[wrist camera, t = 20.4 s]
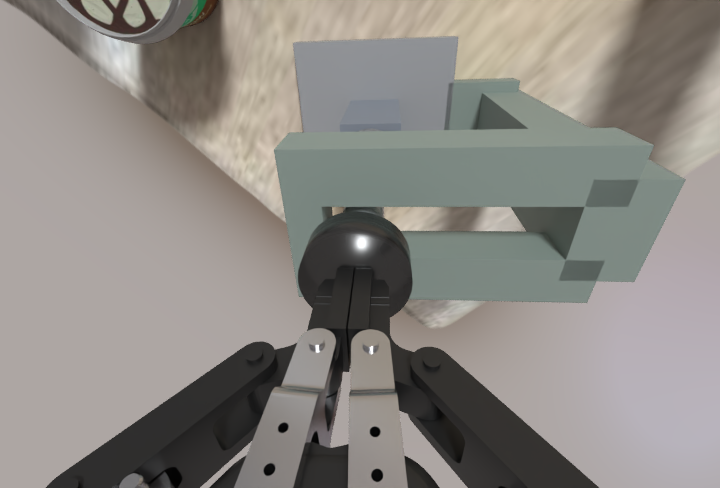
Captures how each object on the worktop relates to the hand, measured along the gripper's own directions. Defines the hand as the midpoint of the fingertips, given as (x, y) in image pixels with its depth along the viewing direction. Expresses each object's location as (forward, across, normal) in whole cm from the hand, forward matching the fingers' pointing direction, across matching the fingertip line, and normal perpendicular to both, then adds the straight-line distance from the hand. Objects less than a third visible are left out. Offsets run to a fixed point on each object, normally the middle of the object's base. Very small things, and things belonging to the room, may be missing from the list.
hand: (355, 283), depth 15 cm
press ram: (+16, 0, 0) cm, 16 cm away
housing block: (+27, 0, 0) cm, 27 cm away
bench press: (+29, -4, 0) cm, 29 cm away
